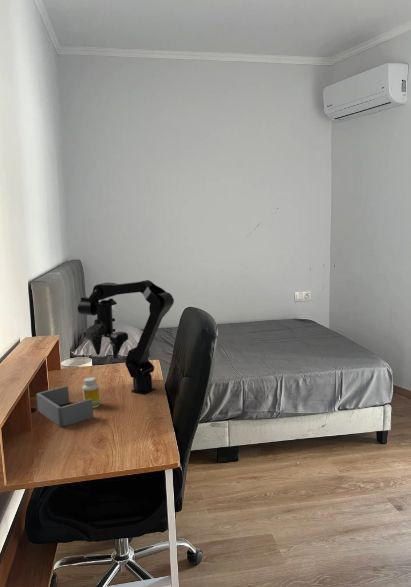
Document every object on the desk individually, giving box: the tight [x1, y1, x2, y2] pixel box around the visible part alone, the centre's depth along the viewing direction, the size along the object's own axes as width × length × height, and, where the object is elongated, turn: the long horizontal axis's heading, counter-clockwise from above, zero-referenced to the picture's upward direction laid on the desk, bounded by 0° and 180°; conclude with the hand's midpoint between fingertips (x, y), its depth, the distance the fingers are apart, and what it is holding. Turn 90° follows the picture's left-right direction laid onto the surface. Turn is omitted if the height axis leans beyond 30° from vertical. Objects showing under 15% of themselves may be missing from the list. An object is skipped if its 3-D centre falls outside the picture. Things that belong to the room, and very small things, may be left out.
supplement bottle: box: [81, 376, 101, 409], centre depth 167 cm, size 5×5×10 cm
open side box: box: [35, 385, 94, 428], centre depth 161 cm, size 11×20×6 cm, turn 39°
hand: (106, 356), depth 185 cm, fingers open, 9 cm apart
